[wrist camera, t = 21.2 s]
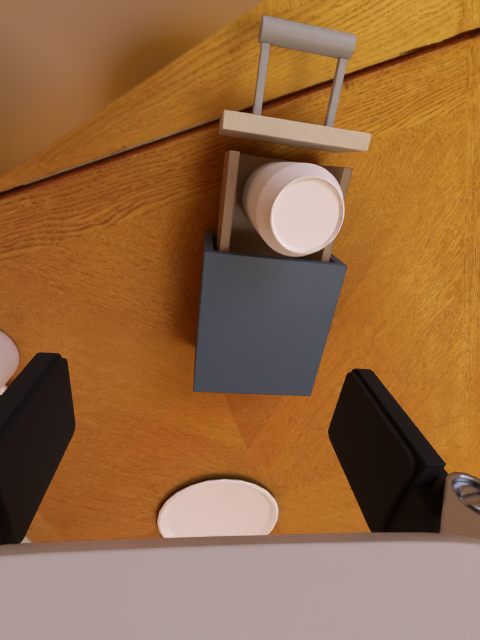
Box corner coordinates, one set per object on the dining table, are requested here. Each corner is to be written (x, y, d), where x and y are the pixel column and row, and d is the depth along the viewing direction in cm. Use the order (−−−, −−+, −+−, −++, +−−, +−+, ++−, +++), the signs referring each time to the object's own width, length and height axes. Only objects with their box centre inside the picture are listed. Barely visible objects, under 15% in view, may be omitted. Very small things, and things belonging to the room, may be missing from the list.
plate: (157, 551, 59) (156, 558, 58) (157, 474, 50) (156, 481, 49) (268, 546, 62) (269, 553, 61) (287, 473, 53) (288, 479, 52)
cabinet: (204, 230, 34) (204, 251, 26) (317, 243, 36) (347, 265, 28) (195, 347, 40) (193, 392, 33) (291, 353, 42) (310, 396, 35)
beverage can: (229, 211, 32) (242, 238, 21) (260, 148, 29) (292, 142, 19) (283, 239, 33) (320, 278, 23) (315, 182, 31) (374, 194, 20)
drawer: (227, 30, 26) (234, -8, 20) (357, 56, 28) (400, 28, 22) (207, 264, 35) (208, 286, 29) (307, 273, 36) (328, 296, 30)
